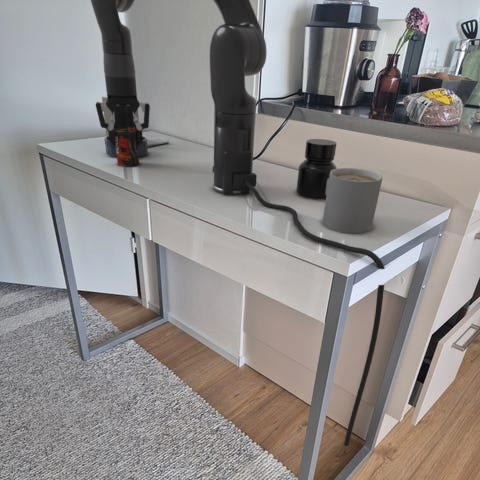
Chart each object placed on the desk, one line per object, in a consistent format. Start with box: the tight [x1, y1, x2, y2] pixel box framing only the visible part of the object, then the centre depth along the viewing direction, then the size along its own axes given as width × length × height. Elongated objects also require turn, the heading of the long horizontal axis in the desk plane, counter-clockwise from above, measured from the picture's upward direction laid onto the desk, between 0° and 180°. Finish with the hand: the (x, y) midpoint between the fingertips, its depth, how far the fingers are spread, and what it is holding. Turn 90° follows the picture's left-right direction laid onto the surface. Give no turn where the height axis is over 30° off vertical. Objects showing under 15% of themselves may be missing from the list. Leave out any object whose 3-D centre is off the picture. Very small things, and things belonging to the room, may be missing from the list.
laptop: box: [101, 96, 170, 148], centre depth 143 cm, size 18×12×13 cm
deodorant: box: [112, 105, 140, 168], centre depth 117 cm, size 6×6×15 cm
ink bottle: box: [296, 138, 338, 200], centre depth 102 cm, size 10×9×12 cm
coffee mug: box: [321, 167, 383, 234], centre depth 87 cm, size 13×10×10 cm
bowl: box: [104, 135, 149, 159], centre depth 130 cm, size 12×12×4 cm
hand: (126, 144), depth 118 cm, fingers open, 6 cm apart
